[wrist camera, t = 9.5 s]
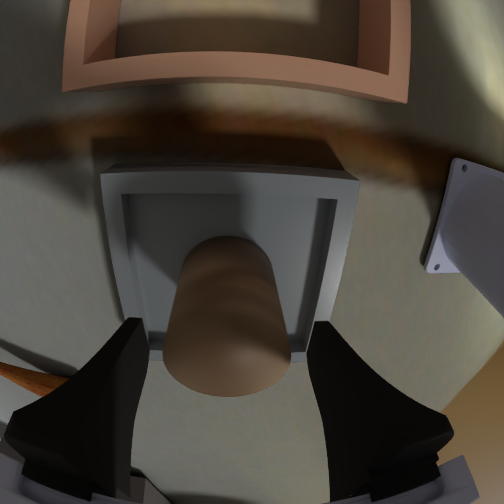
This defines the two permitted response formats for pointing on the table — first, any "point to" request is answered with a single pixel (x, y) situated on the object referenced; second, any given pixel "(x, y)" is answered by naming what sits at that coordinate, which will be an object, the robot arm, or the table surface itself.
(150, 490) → the organizer tray
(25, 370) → the kendama
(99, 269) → the table surface
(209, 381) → the brown rounded cylinder
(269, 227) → the tray
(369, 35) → the holder
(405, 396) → the robot arm
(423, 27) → the table surface
